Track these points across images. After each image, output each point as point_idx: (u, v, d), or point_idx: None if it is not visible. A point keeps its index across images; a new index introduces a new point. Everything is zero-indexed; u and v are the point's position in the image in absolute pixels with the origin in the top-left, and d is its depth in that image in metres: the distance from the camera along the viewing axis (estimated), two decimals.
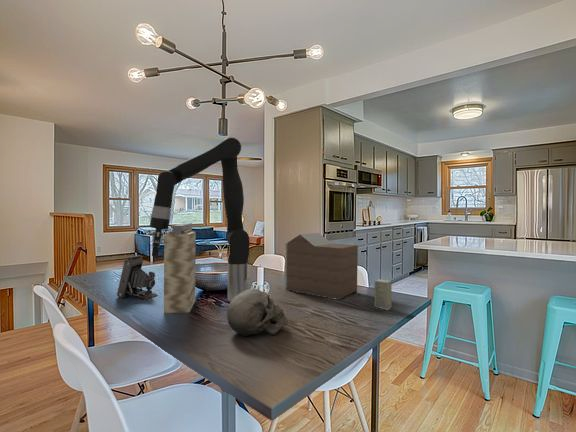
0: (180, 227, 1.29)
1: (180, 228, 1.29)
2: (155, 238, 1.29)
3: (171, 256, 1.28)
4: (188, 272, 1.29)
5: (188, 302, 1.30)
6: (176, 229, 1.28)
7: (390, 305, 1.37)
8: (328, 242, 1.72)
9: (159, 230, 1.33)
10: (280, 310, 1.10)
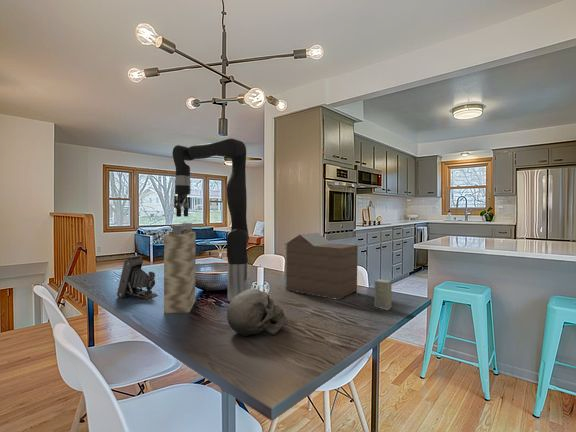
0: (180, 227, 1.29)
1: (180, 228, 1.29)
2: (175, 201, 1.56)
3: (171, 256, 1.28)
4: (188, 272, 1.29)
5: (188, 302, 1.30)
6: (176, 229, 1.28)
7: (390, 305, 1.37)
8: (328, 242, 1.72)
9: (180, 195, 1.59)
10: (280, 310, 1.10)
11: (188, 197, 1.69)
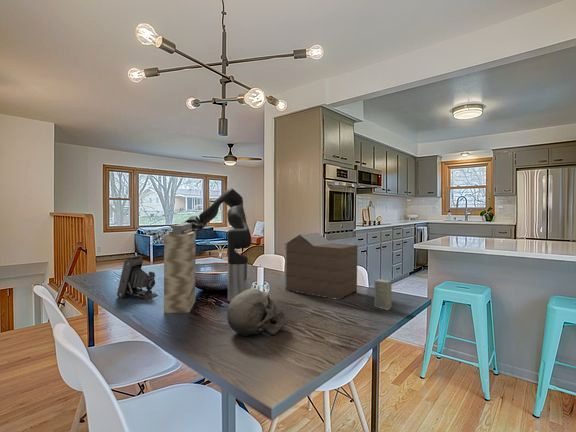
0: (180, 227, 1.29)
1: (180, 228, 1.29)
2: None
3: (171, 256, 1.28)
4: (188, 272, 1.29)
5: (188, 302, 1.30)
6: (176, 229, 1.28)
7: (390, 305, 1.37)
8: (328, 242, 1.72)
9: None
10: (280, 310, 1.10)
11: None
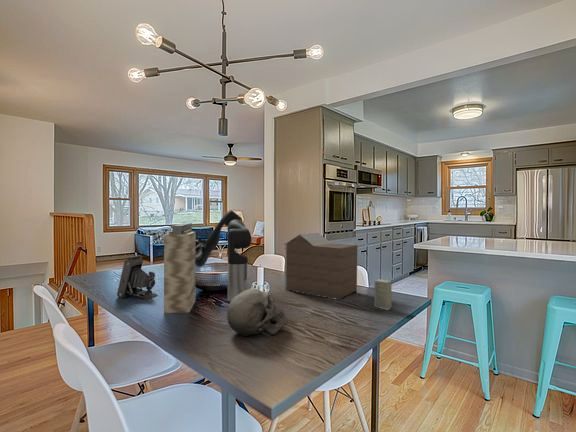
0: (180, 227, 1.29)
1: (180, 228, 1.29)
2: None
3: (171, 256, 1.28)
4: (188, 272, 1.29)
5: (188, 302, 1.30)
6: (176, 229, 1.28)
7: (390, 305, 1.37)
8: (328, 242, 1.72)
9: None
10: (280, 310, 1.10)
11: None
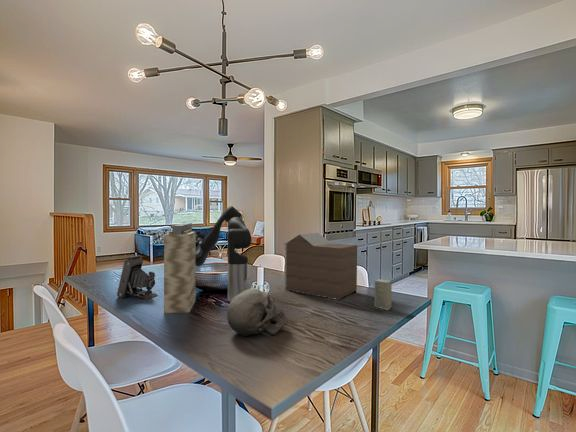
0: (180, 227, 1.29)
1: (180, 228, 1.29)
2: None
3: (171, 256, 1.28)
4: (188, 272, 1.29)
5: (188, 302, 1.30)
6: (176, 229, 1.28)
7: (390, 305, 1.37)
8: (328, 242, 1.73)
9: None
10: (280, 310, 1.10)
11: None
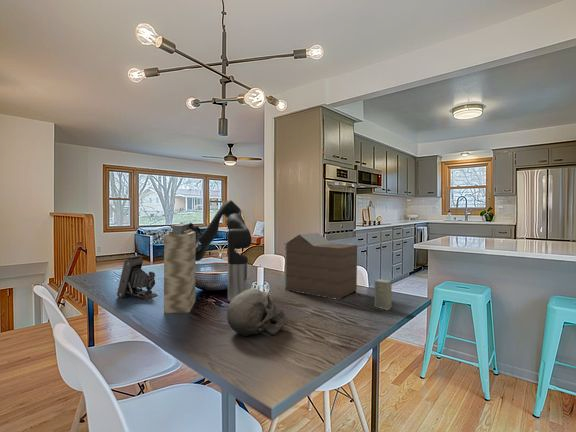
0: (180, 227, 1.29)
1: (180, 228, 1.29)
2: None
3: (171, 256, 1.28)
4: (188, 272, 1.29)
5: (188, 302, 1.30)
6: (176, 229, 1.28)
7: (390, 305, 1.37)
8: (328, 242, 1.73)
9: None
10: (280, 310, 1.10)
11: None
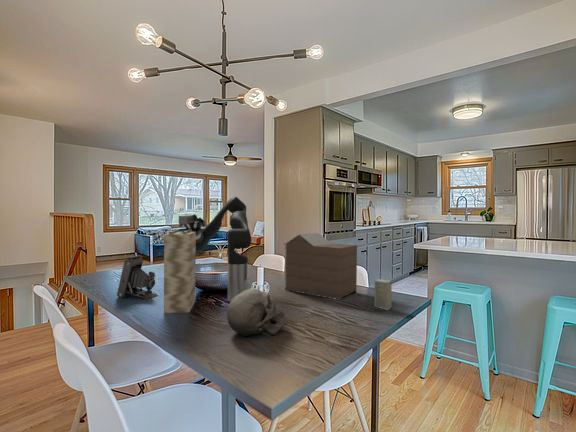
0: (185, 217, 1.41)
1: (185, 218, 1.41)
2: None
3: (171, 256, 1.28)
4: (188, 272, 1.29)
5: (188, 302, 1.30)
6: (182, 219, 1.41)
7: (390, 305, 1.37)
8: (327, 242, 1.73)
9: None
10: (280, 310, 1.10)
11: None
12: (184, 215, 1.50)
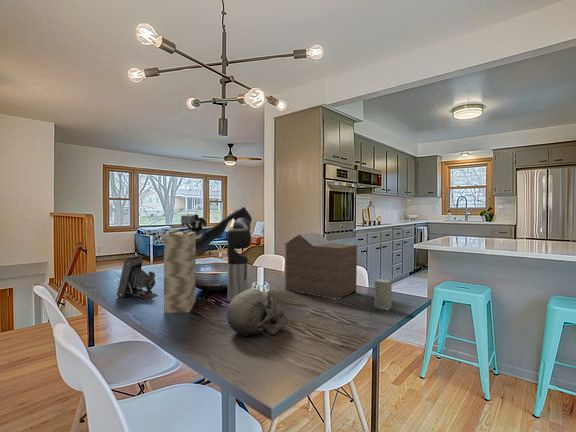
0: (188, 217, 1.46)
1: (188, 218, 1.46)
2: None
3: (171, 256, 1.28)
4: (188, 272, 1.29)
5: (188, 302, 1.30)
6: (184, 219, 1.46)
7: (390, 305, 1.37)
8: (327, 242, 1.73)
9: None
10: (280, 310, 1.10)
11: None
12: None
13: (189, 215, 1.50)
